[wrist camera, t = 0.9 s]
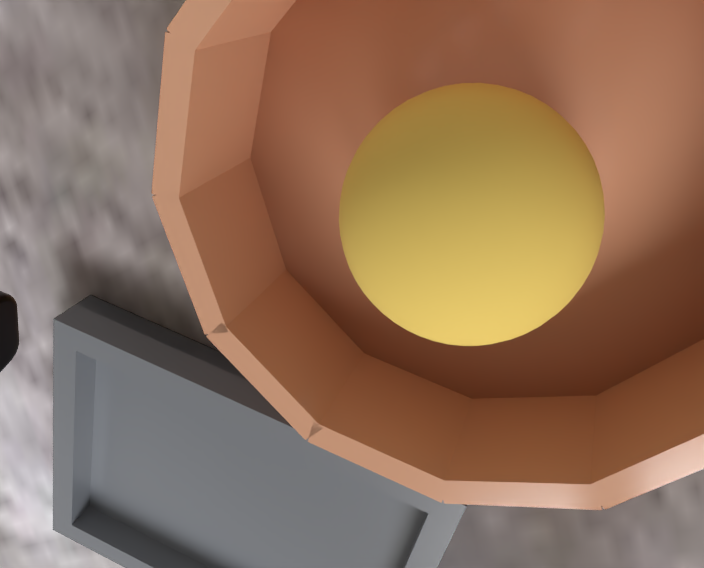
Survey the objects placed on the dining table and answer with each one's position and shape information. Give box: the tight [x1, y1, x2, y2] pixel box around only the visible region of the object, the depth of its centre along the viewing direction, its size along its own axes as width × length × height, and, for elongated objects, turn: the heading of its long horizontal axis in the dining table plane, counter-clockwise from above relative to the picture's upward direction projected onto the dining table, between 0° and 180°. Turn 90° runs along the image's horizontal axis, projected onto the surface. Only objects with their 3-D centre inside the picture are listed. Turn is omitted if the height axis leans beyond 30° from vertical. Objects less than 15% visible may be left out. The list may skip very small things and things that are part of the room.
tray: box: [53, 295, 467, 568], centre depth 27 cm, size 16×12×2 cm
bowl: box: [152, 0, 704, 510], centre depth 17 cm, size 16×16×4 cm
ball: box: [339, 83, 605, 346], centre depth 16 cm, size 6×6×6 cm
